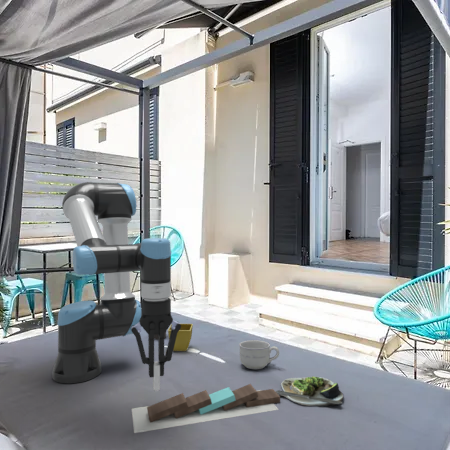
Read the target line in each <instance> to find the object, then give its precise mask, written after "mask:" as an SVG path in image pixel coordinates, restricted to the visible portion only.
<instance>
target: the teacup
mask: <svg viewBox="0 0 450 450" xmlns="http://www.w3.org/2000/svg"><path fill="white" fill-rule="evenodd" d="M273 350H274V351H276V354H275V355H274V356H272V357H270V356H271V355H270V354H271V352H272V351H273ZM279 356H280V349H279V347H277V346H271V344H270V343H269V342H268V341H264V340H257V339H256V340H254V339H253V340H252V339H251V340H244V341H241V342H239V360H240V363H241V364H242V365H243V366H244V367H245V368H247V369H249V370H262V369H263V368H265V367H266V366H267V365H268V364H270V363H272V361H274V360H276V359H277V358H278V357H279Z"/></svg>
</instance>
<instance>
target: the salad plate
mask: <svg viewBox="0 0 450 450" xmlns="http://www.w3.org/2000/svg"><path fill="white" fill-rule="evenodd" d="M280 386H281V390H280V389H279V390H275V392H276V393H277V394H278V395H279V396H280V397H284V398H286V399H288V400H290V401H292V402H294V403H295V404H298V405H301V406H306V407H307V406H309V407H312V406H313V407H314V406H317V407H321V406H323V407H327V406H328V407H329V406H337V405H341V404H343V399H344V394H343V392H342V391H341V389H340V386H339V384H338V382H333V381H332V380H330V379H329V378H325V377H321V376H306V377H288V378H286V379H284V380H283V381H281V383H280Z"/></svg>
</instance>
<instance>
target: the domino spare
mask: <svg viewBox="0 0 450 450" xmlns="http://www.w3.org/2000/svg"><path fill="white" fill-rule="evenodd" d="M232 391H233V390H231V387H229V386H228V387H225V388H222V389H220V390H217V391H215V392H212V393H210V394H208V395H209V396H210V398H211V402H212V404H211V405H208V406H206V407H203V408H201V409H198V410H199V412H200V414H201V415H202V414H204V413H206V412H209V411H211V410H214V409H216V408H219V407H221V406H223V405H226V404H228V403H231V402H233V401H236V400H235V396H234V394H233V392H232Z"/></svg>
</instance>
